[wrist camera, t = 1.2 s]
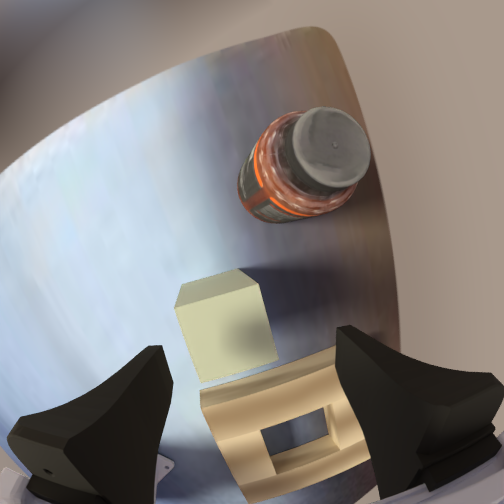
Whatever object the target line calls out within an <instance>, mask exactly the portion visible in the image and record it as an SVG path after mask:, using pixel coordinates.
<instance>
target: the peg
mask: <svg viewBox="0 0 504 504" xmlns="http://www.w3.org/2000/svg"><path fill="white" fill-rule="evenodd" d="M174 309H175V313H176V316H177V319H178V322H179V325H180V327H181V330H182V333H183V336H184V339H185V342H186V345H187V348H188V350H189V353H190V356H191V358H192V361H193V364H194V367H195V369H196V372H197V374H198V377H199V380H200V382H201V383H204V382H208V381H211V380H215V379H219V378H222V377H226V376H229V375H233V374H236V373H239V372H243V371H246V370H249V369H252V368H255V367H259V366H262V365H265V364H268V363H271V362H274V361H277V360H279V358H278V355H277V351H276V347H275V344H274V340H273V336H272V332H271V329H270V325H269V321H268V317H267V314H266V310H265V306H264V303H263V299H262V295H261V291H260V288H259V284H258V283H257V282H255V281H254V280H253V279H251V278H250V277H248V276H247V275H246V274H244V273H243V272H242V271H240V270H239V269H234V270H231V271H227V272H224V273H220V274H217V275H213V276H210V277H206V278H203V279H199V280H195V281H192V282H188V283H185V284H182V285H181V288H180V291H179V294H178V298H177V301H176V304H175V307H174Z"/></svg>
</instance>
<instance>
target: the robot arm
mask: <svg viewBox="0 0 504 504" xmlns="http://www.w3.org/2000/svg"><path fill="white" fill-rule="evenodd" d="M335 369H336V372H337V375H338V378H339V381H340V384H341V387H342V389H343V391H344V393H345V395H346V397H347V399H348V401H349V403H350V406H351V408H352V410H353V412H354V414H355V416H356V418H357V420H358V422H359V424H360V427H361V429H362V432H363V435H364V438H365V441H366V444H367V447H368V450H369V454H370V457H371V461H372V464H373V468H374V472H375V477H376V481H377V485H378V490H379V495H380V501H376V502H373V503H370V504H504V431H503V432H502V433H501V434H500V435H499V436H498V437H497V438H496V437H495V435H494V434H493V432H494V431H495V426H494V425H493V424H492V423H491V422H492V420H493V418H494V416H495V415H496V413H497V411H498V409H499V407H500V405H501V403H502V400H503V398H504V386H503V384H502V383H501V382H500V381H499V380H498V379H497V378H496V377H495V376H494V375H493V374H492V373H485V372H484V373H483V372H466V371H459V370H452V369H447V368H442V367H438V366H434V365H430V364H427V363H424V362H421V361H418V360H416V359H413V358H410V357H408V356H405V355H403V354H401V353H399V352H397V351H395V350H393V349H391V348H389V347H387V346H385V345H384V344H382V343H380V342H378V341H377V340H375V339H373V338H372V337H370V336H368V335H367V334H365V333H363V332H362V331H360V330H358V329H357V328H355V327H353V326H351V325H348V326H342V327H337V330H336V354H335ZM172 391H173V380H172V376H171V373H170V370H169V367H168V364H167V360H166V357H165V354H164V350H163V347H162V345H154V346H148V347H146V348H145V349H144V350H142V351H141V352H140V353H139V354H138V355H136V356H135V357H134V358H133V359H132V360H131V361H129V362H128V363H127V364H126V365H125V366H124V367H122V368H121V369H120V370H119V371H118V372H116V373H115V374H114V375H112V376H111V377H110V378H108V379H107V380H106V381H104V382H103V383H102V384H100V385H99V386H97V387H96V388H94V389H92V390H91V391H89V392H87V393H86V394H84V395H82V396H80V397H78V398H76V399H74V400H72V401H70V402H68V403H66V404H63V405H61V406H58V407H55V408H52V409H50V410H47V411H43V412H40V413H35V414H31V415H27V416H22V417H20V418H19V420H18V421H17V422H16V424H15V425H14V427H13V429H12V430H11V432H10V433H9V435H8V436H7V442H8V444H9V446H10V448H11V450H12V451H13V453H14V454H15V455H16V456H17V457H18V459H19V460H20V461H21V462H22V463H23V464H24V466H25V467H26V468H27V469H28V470H29V471H30V472H31V473H32V474H33V475H32V476H31V478H30V479H28V478H27V477H26V476H24V475H22V474H20V473H18V472H16V471H13V470H12V469H9V468H8V467H4V469H3V471H2V472H1V474H0V504H155V502H156V490H157V483H158V482H159V481H160V480H161V479H162V478H163V477H164V476H165V475H166V474H167V473H168V472H169V471H170V470H171V469H172V468H173V467H174V462H173V461H172V460H170V459H168V458H166V457H163V456H161V455H159V454H158V449H159V444H160V440H161V436H162V433H163V429H164V426H165V422H166V418H167V415H168V411H169V408H170V404H171V398H172ZM166 466H168V467H166Z"/></svg>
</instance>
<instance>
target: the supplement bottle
mask: <svg viewBox="0 0 504 504" xmlns="http://www.w3.org/2000/svg"><path fill="white" fill-rule="evenodd" d="M370 157H371V152H370V145H369V141H368V139H367V136H366V134H365V132H364V130H363V129H362V127H361V126H360V125H359V123H358V122H357V121H356V120H355V119H354V118H353V117H351V116H350V115H349V114H347V113H345V112H344V111H342V110H339V109H336V108H332V107H325V106H323V107H316V108H313V109H310V110H308V111H298V112H297V111H295V112H291V113H288V114H285V115H283V116H281V117H279V118H278V119H276V120H275V121H273V122H272V123H271V124H270V125H269V126H268V127H267V128H266V130H265V131H264V133H263V134H262V136H261V137H260V138H259V140H258V141H257V143H256V145H255V146H254V148H253V149H252V151H251V153H250V154H249V156H248V158H247V159H246V161H245V162H244V164H243V166H242V168H241V170H240V173H239V176H238V183H237V189H238V194H239V198H240V200H241V202H242V204H243V206H244V207H245V208H246V210H247V211H248V212H249V213H250V214H251V215H252V216H254V217H255V218H257V219H259V220H261V221H264V222H268V223H276V224H277V223H286V222H290V221H295V220H300V219H304V218H308V217H313V216H318V215H322V214H325V213H328V212H331V211H333V210H335V209H337V208H339V207H340V206H342V205H343V204H344V203H345V202H346V201H347V200H348V199H349V198H350V197H351V195H352V194H353V192H354V190H355V188H356V186H357V183H358V181H360V179H362V178H363V176H364V175H365V173H366V172H367V169H368V167H369V164H370Z"/></svg>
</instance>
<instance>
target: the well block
mask: <svg viewBox="0 0 504 504" xmlns="http://www.w3.org/2000/svg"><path fill="white" fill-rule="evenodd" d="M335 354H336V345H335V346H333V347H330V348H328V349H325V350H323V351H320V352H318V353H315V354H312V355H310V356H307V357H305V358H302V359H299V360H296V361H294V362H291V363H288V364H285V365H282V366H279V367H276V368H274V369H271V370H268V371H264V372H261V373H258V374H255V375H252V376H249V377H246V378H242V379H239V380H236V381H232V382H229V383H225V384H222V385H218V386H214V387H211V388H207V389H203V390H200V405H201V410H202V413H203V415H204V417H205V419H206V422H207V424H208V426H209V428H210V430H211V432H212V435H213V437H214V439H215V441H216V443H217V445H218V447H219V449H220V451H221V453H222V455H223V457H224V459H225V461H226V463H227V465H228V467H229V469H230V471H231V473H232V475H233V477H234V478H235V480H236V482H237V484H238V486H239V488H240V490H241V491H242V493H243V495H244V497H245V498H246V500H247V502H248V504H253V503H256V502H260V501H264V500H267V499H271V498H274V497H277V496H281V495H284V494H287V493H290V492H293V491H296V490H298V489H301V488H304V487H307V486H309V485H312V484H315V483H317V482H320V481H322V480H325V479H327V478H329V477H332V476H334V475H336V474H339V473H341V472H343V471H345V470H347V469H350V468H352V467H354V466H356V465H358V464H360V463H362V462H364V461H366V460H368V459H370V458H371V457H370V454H369V450H368V447H367V444H366V441H365V438H364V435H363V432H362V429H361V427H360V424H359V422H358V420H357V418H356V416H355V414H354V412H353V410H352V408H351V406H350V403H349V401H348V399H347V397H346V395H345V393H344V391H343V389H342V387H341V384H340V381H339V378H338V375H337V372H336V369H335ZM322 407H324V412H325V417H326V423H327V428H328V433H329V435H326V436H324V437H321V438H319V439H317V440H314V441H312V442H309V443H306V444H304V445H301V446H298V447H296V448H293V449H290V450H287V451H284V452H281V453H278V454H275V455H272V456H269V453H268V451H267V448H266V445H265V443H264V440H263V437H262V435H261V432H260V430H261V429H264V428H267V427H270V426H273V425H276V424H279V423H282V422H285V421H288V420H291V419H293V418H296V417H299V416H301V415H304V414H307V413H309V412H312V411H314V410H317V409H319V408H322Z"/></svg>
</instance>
